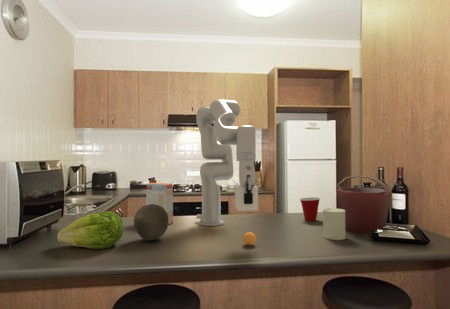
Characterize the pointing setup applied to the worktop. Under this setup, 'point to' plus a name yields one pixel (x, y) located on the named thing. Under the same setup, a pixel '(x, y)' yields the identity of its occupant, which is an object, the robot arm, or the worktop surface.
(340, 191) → the bucket
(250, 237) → the ball
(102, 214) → the lettuce
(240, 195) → the white sugar cube
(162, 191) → the cracker box
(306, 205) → the plastic cup
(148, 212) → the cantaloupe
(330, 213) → the can
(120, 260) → the worktop surface
